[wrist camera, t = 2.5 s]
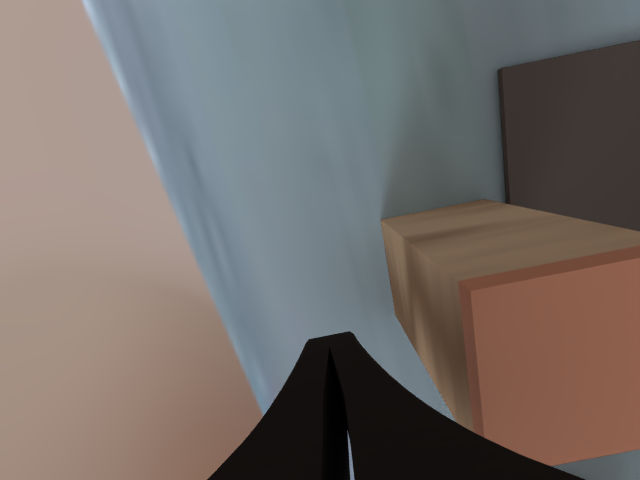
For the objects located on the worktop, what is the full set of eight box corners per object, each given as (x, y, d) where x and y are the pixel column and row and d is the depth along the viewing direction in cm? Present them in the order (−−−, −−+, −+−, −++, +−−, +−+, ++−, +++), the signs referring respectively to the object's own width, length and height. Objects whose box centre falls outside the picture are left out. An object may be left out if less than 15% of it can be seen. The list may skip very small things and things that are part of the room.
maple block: (492, 296, 17) (689, 439, 8) (395, 314, 17) (488, 477, 8) (484, 199, 16) (704, 245, 7) (380, 219, 16) (470, 291, 7)
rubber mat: (719, 346, 18) (726, 350, 18) (518, 385, 18) (521, 389, 18) (751, 18, 14) (760, 15, 14) (498, 70, 14) (502, 68, 14)
